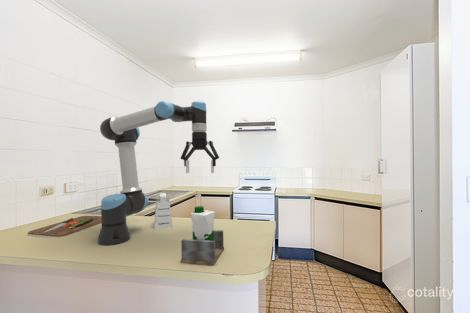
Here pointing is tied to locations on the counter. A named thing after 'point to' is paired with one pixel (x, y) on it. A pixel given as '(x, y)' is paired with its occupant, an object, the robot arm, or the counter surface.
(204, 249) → the carton caddy
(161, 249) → the counter surface
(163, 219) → the grater
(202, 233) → the soya milk
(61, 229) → the chopping board
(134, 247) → the counter surface
